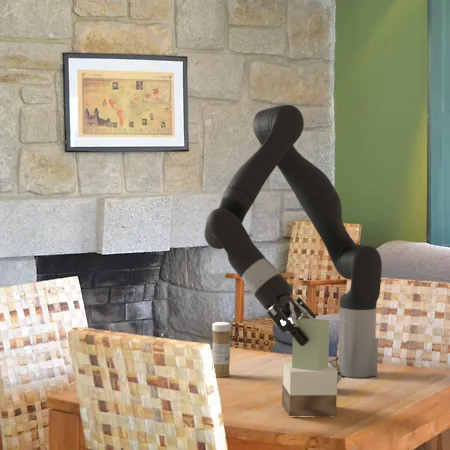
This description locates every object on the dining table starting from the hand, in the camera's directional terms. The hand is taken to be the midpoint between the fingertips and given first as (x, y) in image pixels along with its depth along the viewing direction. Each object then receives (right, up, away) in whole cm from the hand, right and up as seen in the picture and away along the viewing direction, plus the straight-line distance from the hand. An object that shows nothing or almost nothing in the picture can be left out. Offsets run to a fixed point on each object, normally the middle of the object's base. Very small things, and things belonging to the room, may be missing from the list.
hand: (313, 340), depth 206 cm
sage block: (-1, -6, +1) cm, 6 cm away
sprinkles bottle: (-20, -13, +35) cm, 43 cm away
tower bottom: (-1, -16, +1) cm, 16 cm away
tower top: (-1, -11, +1) cm, 11 cm away
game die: (+5, -15, +21) cm, 26 cm away
